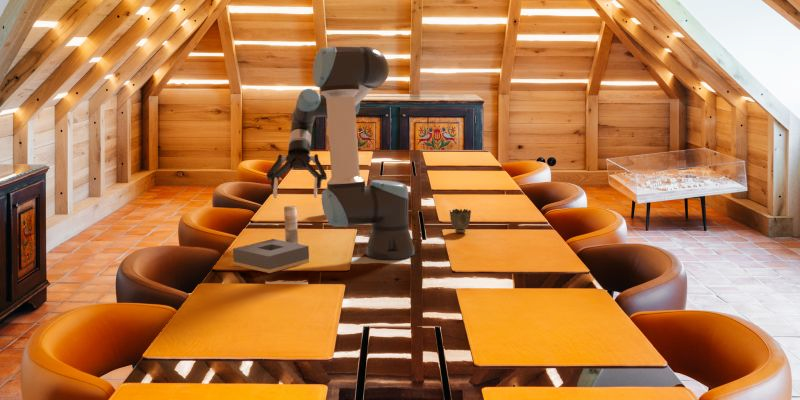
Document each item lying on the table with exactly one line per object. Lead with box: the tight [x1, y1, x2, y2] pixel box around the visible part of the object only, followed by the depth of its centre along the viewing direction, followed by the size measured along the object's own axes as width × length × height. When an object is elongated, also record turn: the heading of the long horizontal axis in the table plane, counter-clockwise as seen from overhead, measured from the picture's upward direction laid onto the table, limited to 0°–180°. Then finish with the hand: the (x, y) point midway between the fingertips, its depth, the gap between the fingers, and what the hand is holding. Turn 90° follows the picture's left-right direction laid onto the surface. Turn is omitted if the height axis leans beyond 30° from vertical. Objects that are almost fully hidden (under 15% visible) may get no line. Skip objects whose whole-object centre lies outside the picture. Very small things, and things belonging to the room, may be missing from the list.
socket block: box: [232, 238, 310, 274], centre depth 250 cm, size 16×16×5 cm
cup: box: [449, 208, 472, 235], centre depth 287 cm, size 8×7×8 cm
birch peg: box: [283, 205, 299, 244], centre depth 266 cm, size 4×4×14 cm
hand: (294, 195), depth 275 cm, fingers open, 13 cm apart
